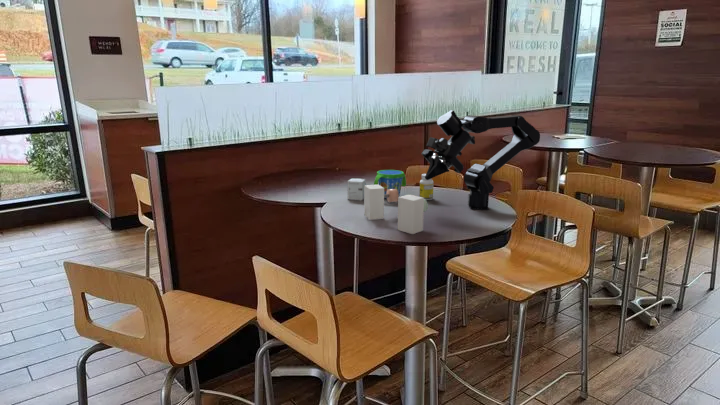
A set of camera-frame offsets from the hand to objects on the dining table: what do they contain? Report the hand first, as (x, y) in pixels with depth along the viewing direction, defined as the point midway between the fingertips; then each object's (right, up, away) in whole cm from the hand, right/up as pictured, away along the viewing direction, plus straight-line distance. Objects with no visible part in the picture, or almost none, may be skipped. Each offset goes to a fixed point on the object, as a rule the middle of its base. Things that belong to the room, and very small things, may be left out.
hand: (426, 179), depth 165 cm
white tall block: (-18, -13, +1) cm, 22 cm away
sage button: (-5, -12, -13) cm, 18 cm away
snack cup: (-11, -6, +27) cm, 30 cm away
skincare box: (-24, -6, +26) cm, 36 cm away
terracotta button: (-13, -8, +1) cm, 15 cm away
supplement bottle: (+3, -7, +24) cm, 26 cm away
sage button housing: (-7, -17, -14) cm, 23 cm away
